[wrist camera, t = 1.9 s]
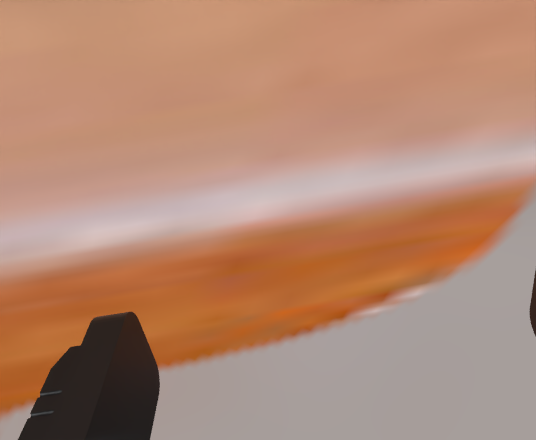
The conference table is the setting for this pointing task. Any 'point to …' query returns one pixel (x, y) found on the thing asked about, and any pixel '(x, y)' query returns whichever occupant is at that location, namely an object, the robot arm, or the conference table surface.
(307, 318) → the conference table surface
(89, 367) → the robot arm
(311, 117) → the conference table surface
